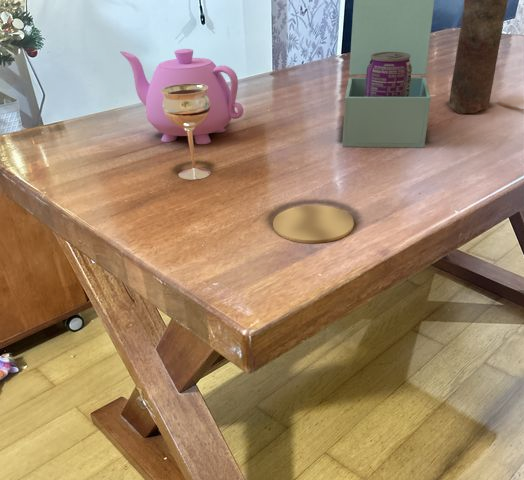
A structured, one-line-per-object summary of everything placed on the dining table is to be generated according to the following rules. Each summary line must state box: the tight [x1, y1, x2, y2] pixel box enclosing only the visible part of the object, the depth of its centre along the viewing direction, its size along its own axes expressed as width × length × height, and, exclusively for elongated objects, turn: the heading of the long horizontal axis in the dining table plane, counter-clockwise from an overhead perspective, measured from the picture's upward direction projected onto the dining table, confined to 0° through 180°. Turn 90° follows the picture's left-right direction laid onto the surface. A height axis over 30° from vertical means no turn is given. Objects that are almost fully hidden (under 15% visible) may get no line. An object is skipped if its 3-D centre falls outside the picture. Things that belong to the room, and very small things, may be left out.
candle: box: [448, 0, 509, 115], centre depth 98 cm, size 8×7×20 cm
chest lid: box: [348, 0, 435, 76], centre depth 94 cm, size 15×13×4 cm
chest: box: [342, 76, 432, 149], centre depth 92 cm, size 14×13×8 cm
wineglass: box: [161, 83, 212, 181], centre depth 79 cm, size 7×7×12 cm
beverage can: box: [365, 52, 412, 97], centre depth 89 cm, size 7×7×12 cm
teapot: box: [119, 48, 244, 145], centre depth 94 cm, size 22×16×14 cm
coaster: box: [272, 204, 355, 244], centre depth 67 cm, size 10×10×1 cm
